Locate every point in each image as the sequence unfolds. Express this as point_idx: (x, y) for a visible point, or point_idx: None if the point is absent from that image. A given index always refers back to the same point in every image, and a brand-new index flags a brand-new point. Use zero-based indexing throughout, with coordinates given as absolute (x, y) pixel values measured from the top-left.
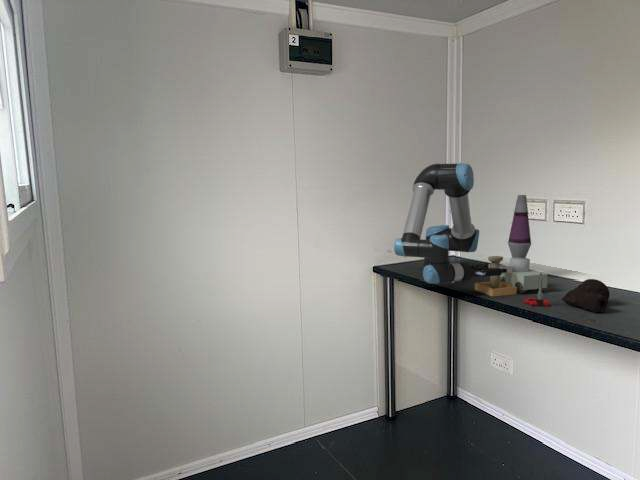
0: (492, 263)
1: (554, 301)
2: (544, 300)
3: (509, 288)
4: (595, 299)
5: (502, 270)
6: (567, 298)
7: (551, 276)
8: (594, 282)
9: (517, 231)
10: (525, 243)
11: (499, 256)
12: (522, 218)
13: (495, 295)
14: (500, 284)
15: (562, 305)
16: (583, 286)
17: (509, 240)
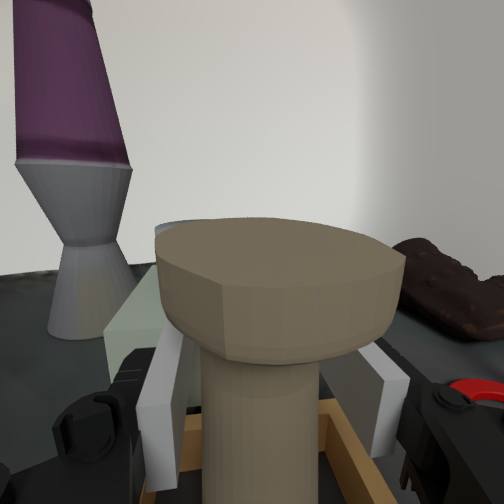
0: (284, 371)
1: (434, 356)
2: (484, 386)
3: (369, 462)
4: None
5: (418, 384)
6: (495, 326)
7: (145, 266)
8: (430, 246)
9: (78, 97)
10: (125, 164)
11: (227, 221)
12: (85, 29)
13: None
14: (191, 444)
15: (493, 360)
16: (448, 265)
17: (34, 149)
